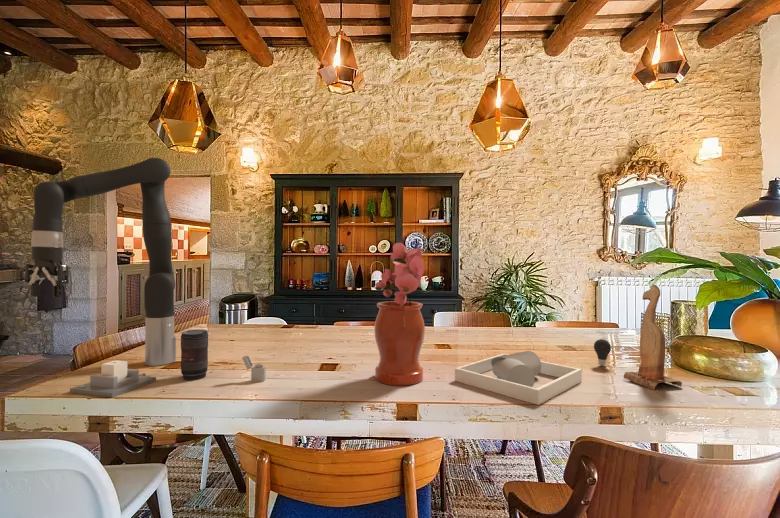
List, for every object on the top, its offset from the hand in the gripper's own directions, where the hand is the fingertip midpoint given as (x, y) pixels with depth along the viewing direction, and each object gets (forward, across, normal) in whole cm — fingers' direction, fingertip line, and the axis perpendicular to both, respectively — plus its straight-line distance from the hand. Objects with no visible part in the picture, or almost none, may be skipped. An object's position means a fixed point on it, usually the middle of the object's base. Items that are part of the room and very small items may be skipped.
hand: (46, 297), depth 122 cm
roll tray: (+25, +147, +34) cm, 153 cm away
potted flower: (+25, +110, +30) cm, 116 cm away
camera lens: (+26, +43, +14) cm, 52 cm away
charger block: (+25, +27, 0) cm, 36 cm away
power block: (+26, +27, +2) cm, 37 cm away
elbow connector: (+25, +147, +34) cm, 153 cm away
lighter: (+26, +64, +15) cm, 71 cm away
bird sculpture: (+24, +188, +42) cm, 195 cm away
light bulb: (+24, +179, +60) cm, 191 cm away
